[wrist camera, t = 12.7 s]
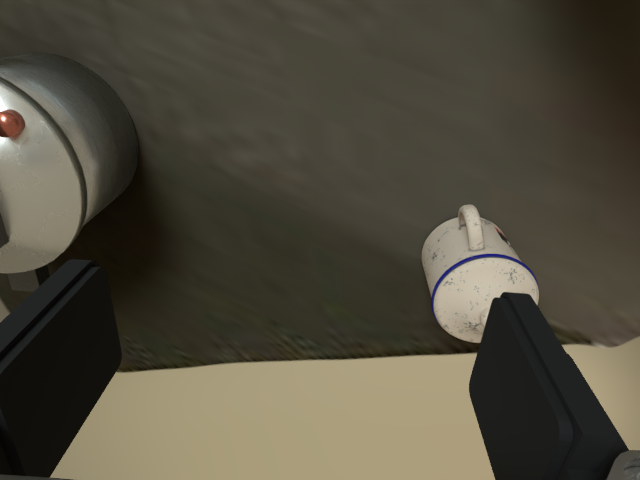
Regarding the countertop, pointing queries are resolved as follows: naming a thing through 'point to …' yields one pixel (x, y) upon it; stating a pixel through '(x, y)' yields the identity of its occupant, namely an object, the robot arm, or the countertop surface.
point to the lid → (36, 184)
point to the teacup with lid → (471, 272)
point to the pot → (79, 130)
